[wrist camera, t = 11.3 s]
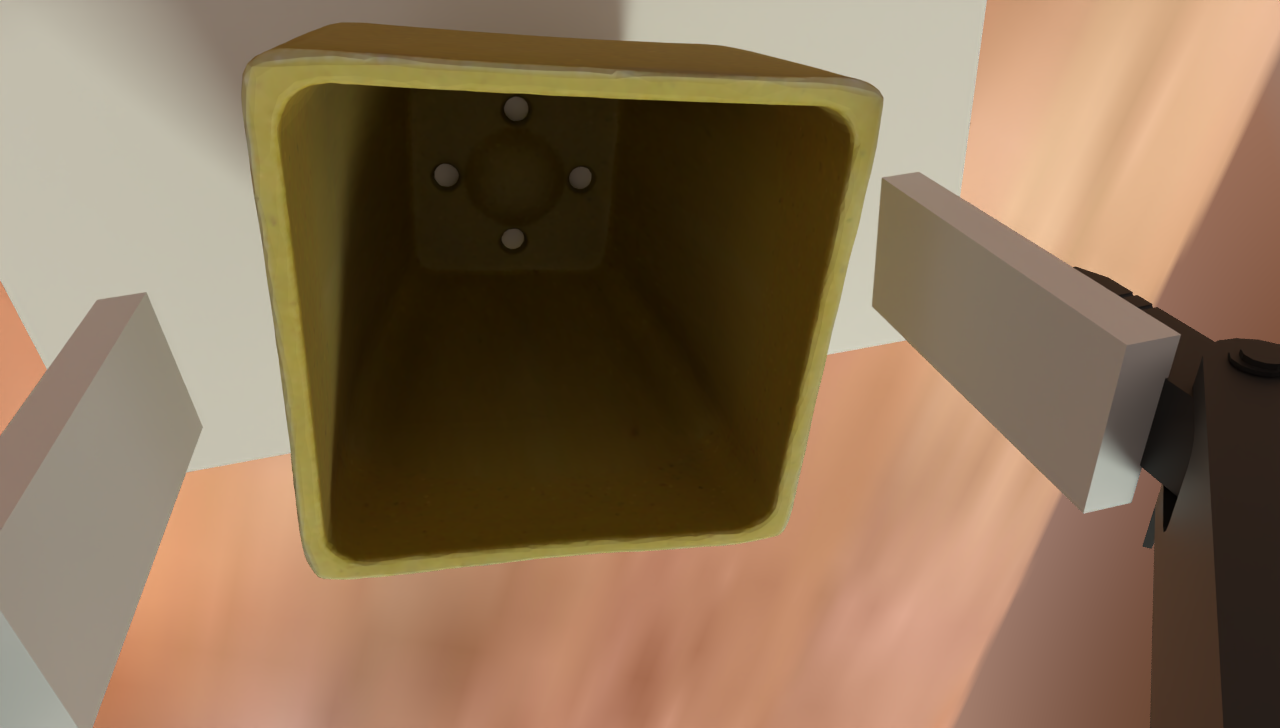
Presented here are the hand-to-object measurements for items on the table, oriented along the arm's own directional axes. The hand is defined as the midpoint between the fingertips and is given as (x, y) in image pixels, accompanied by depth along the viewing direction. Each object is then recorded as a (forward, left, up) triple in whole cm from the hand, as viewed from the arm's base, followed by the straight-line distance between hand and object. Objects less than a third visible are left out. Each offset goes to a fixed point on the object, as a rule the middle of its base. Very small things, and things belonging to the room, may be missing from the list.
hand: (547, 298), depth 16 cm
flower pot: (0, 0, -7) cm, 7 cm away
